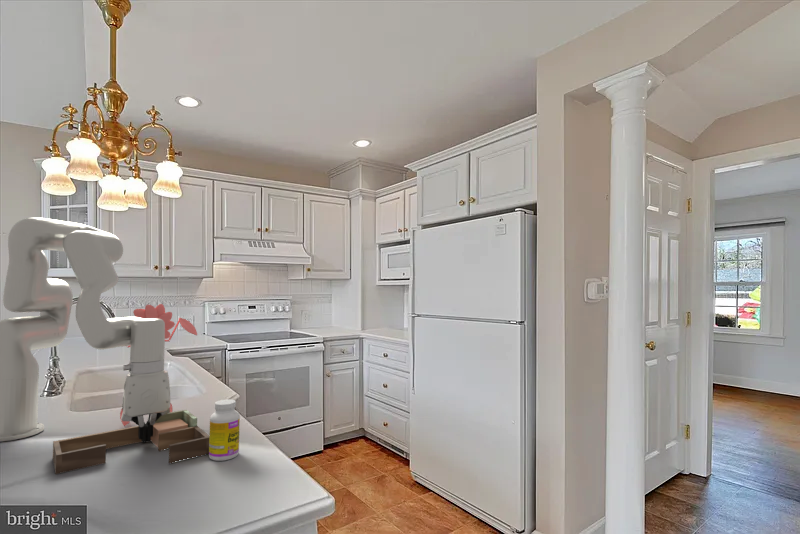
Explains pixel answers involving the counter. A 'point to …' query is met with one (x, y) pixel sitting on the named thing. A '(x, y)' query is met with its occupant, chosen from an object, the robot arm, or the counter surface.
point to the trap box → (94, 446)
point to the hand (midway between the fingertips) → (145, 440)
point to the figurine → (166, 317)
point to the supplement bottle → (224, 431)
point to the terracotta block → (166, 428)
